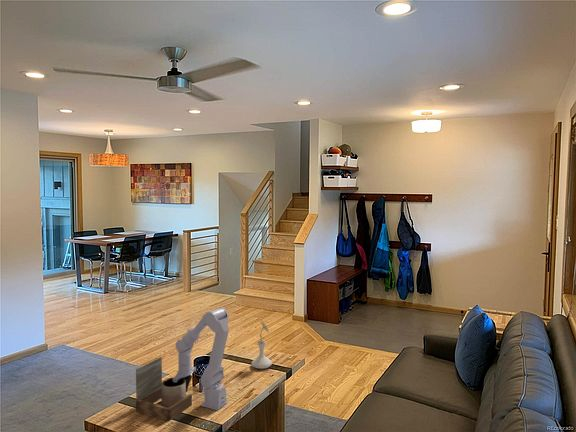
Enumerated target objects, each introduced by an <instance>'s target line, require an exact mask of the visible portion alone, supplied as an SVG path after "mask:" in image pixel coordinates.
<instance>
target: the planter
mask: <svg viewBox="0 0 576 432" xmlns="http://www.w3.org/2000/svg"><path fill="white" fill-rule="evenodd" d="M186 396H187V392H186V380H185V379H184V378H181V379H180V380H178V381H177V382H173V377H170V378H167V379H164V380H162V398H161V406H164V407H167V408H169V407H171V406H172V405H174V404H175V403H177V402H178V401H180V400H181V399H183V398H184V397H186Z"/></svg>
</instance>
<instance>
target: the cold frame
mask: <svg viewBox="0 0 576 432" xmlns="http://www.w3.org/2000/svg"><path fill="white" fill-rule="evenodd" d="M162 359H163V357H159V358H156V359H154V360H152V361H150V362H148V363H146V364H143V365H142V366H140V367H138V368H136V369H135V385H136V386H135V393H136V395H135V399H136V400H135V402H136V403H135V404H136V405H135V406H136V407H135V408H136V409H135V410H136V412H137V413H140V414H143V415H146V416H147V415H148V416H149V417H150V416H151V417H153V418H156V419H161V420H163V421H167V422H170V421H172V420H173V419H174V418H176V417H177V416H178V415H180V414H181V413H182V412H184V411H186V410H187V409H189V408H190V407H192V406H193V394H191V393H189V394H186V397H184V398H183V399H181V400H180V401H178V402H177V403H175V404H174V405H172V406H171V407H166V406H164V405H160V404H157V403H156V402H157V401H159V400H162V382H163V380H162V379H163V378H162V377H163V375H162V374H163V367H162V365H163V363H162V362H163V361H162Z"/></svg>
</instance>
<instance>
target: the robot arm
mask: <svg viewBox="0 0 576 432" xmlns="http://www.w3.org/2000/svg"><path fill="white" fill-rule="evenodd" d="M229 317H230V315H229V313H228V311H227V310H226V308H224V307H219V308H217V309H214V310H211V311H207V312H205V314H203V315H202V317H201V319H200V320H199V321H198V322H197V324H196V325H195V326H194V327H191V328H189V329H187V332H186V334H184V335H183V336H182V338H181V339H177V340H176V342H175V349H176V351H177V352H178V354H177V355H178V356H177V357H178V359H177V360H178V362H177V363H178V370H177V371H176V374H175V376H173V377H172V378H173V382H177V381H178V380H180V379H181V378H184V379H185V380H186V393H187V392H188V389H189V386H190V383H191V380H192V379H193V375H191V374H193V373H194V372H196V371H197V367H195V366H192V358H191V357H192V354H191V352H192V351H193V350H192V349H193V348H194V344H195V343H196V341H198V339H200V336H201V332H202V331H204V330H205V328H206V327H208V328H209V329H210V330H211V331H212V333H215V335H214V339H213V343H212V348H211V352H210V357H209V361H208V365H207V367H205V369H204V370H203V374H201V377H200V383H201V385H202V386H203V388H204V393H203V394H204V398H203V399H204V401H203V402H202V403H201V404H199V405H200V407H204V408H208V409H211V410H215V411H219V410H220V409H221V408H222V407H224V406H225V405H226V404H227V403H228V402H227V389H226V387H224V386H223V385H221V384H222V381H223V380H224V377H225V373H224V369H225V367H224V366H223V365H222V363H223V362H222V361H223V358H224V354H225V353H224V352H225V349H226V344H227V341H228V337H229V336H228V335H229Z"/></svg>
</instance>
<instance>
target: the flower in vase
mask: <svg viewBox="0 0 576 432" xmlns="http://www.w3.org/2000/svg"><path fill="white" fill-rule="evenodd" d="M260 324H261V326H262V328H261V332H260V333H259V336H260V337H259V338H260V340H258V341H257V343H256V344H257V345H258V347H259V354H258V355H257V356H256V357H255V358H254V359H253V360H252V361H251V364H250V365H251V366H252V367H253V368H256V369H260V370H262V369H267V368H270V367H271V366H272V364H273V363H272V361H271V359H270V358H268V357H267V356H265V352H264V351H265V345H266V344H267V341H265V340H263V339H265V337H264V336H263V337H262V332H263V330H265V331H266V333H268V334H269V333H270V331H269V328H268V326H267V325H265V322H264V321H263V320H261V321H260Z"/></svg>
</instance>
